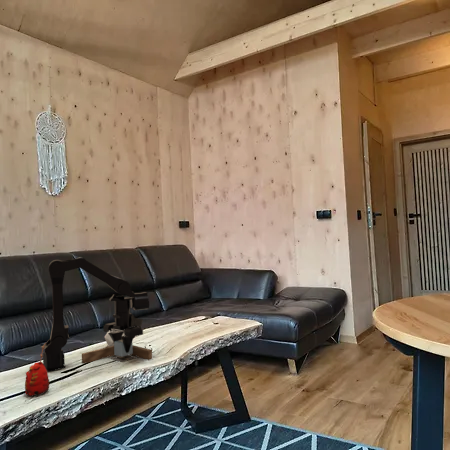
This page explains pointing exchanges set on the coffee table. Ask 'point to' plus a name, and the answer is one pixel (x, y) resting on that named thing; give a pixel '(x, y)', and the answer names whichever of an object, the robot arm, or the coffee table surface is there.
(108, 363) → the coffee table surface
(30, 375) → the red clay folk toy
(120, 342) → the cube
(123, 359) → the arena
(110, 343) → the die
